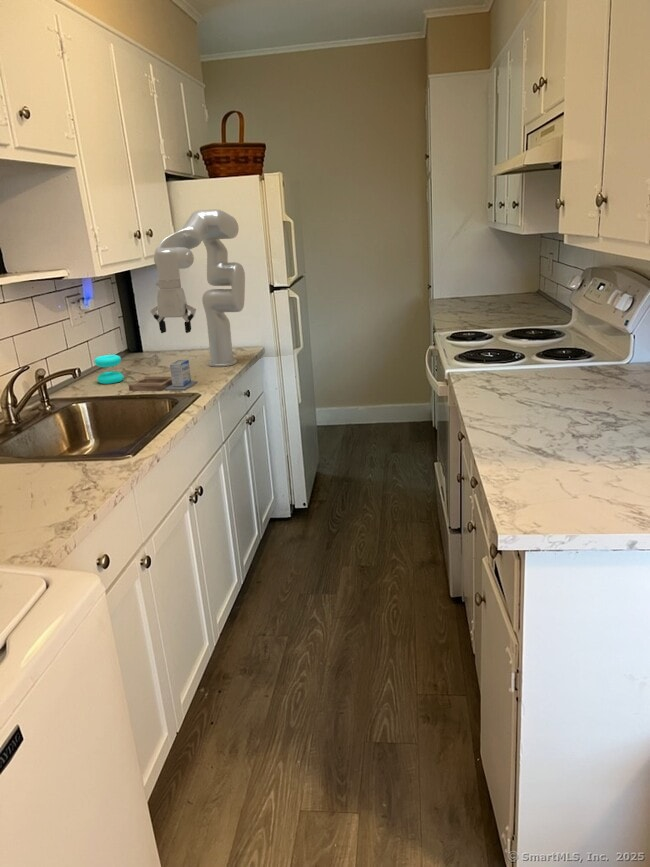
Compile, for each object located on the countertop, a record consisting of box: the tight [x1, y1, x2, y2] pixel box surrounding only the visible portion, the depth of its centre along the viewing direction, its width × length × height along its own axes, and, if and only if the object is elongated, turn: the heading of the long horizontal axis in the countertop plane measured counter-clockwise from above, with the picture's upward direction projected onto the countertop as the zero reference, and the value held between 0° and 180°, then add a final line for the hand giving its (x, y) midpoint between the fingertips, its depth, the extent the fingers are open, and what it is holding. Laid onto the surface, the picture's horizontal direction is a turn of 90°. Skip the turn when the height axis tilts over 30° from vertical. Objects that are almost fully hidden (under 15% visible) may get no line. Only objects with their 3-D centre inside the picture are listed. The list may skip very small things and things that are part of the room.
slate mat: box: [164, 380, 199, 391], centre depth 245 cm, size 12×8×1 cm, turn 168°
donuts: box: [94, 354, 125, 385], centre depth 256 cm, size 10×10×10 cm
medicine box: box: [169, 359, 192, 387], centre depth 244 cm, size 8×4×9 cm, turn 169°
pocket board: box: [128, 375, 172, 392], centre depth 247 cm, size 14×13×2 cm
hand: (175, 332), depth 239 cm, fingers open, 9 cm apart
